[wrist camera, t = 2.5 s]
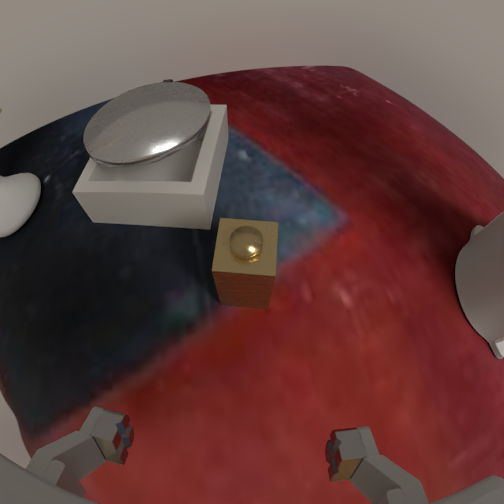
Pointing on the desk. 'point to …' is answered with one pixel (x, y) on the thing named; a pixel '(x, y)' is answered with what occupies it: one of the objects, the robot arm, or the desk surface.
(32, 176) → the flower in vase
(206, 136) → the base
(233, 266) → the brass weight
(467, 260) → the robot arm
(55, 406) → the desk surface
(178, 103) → the scale pan
